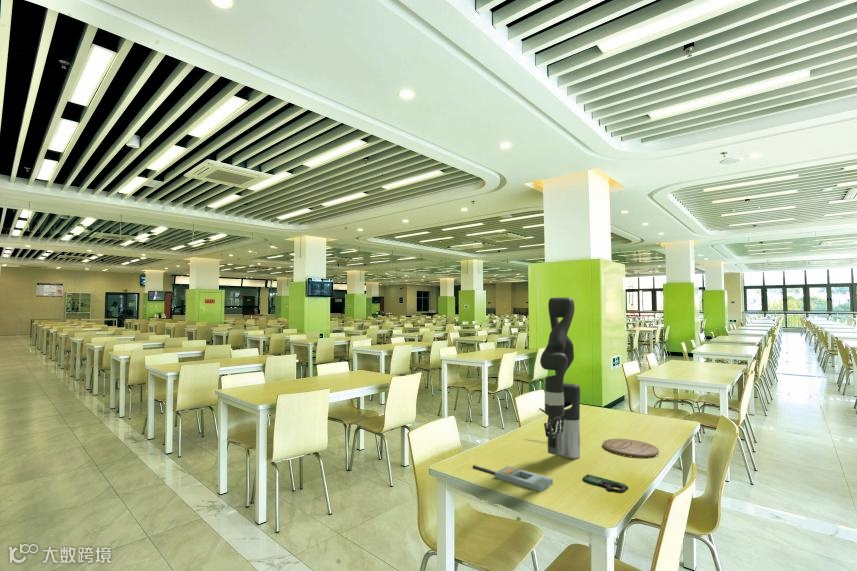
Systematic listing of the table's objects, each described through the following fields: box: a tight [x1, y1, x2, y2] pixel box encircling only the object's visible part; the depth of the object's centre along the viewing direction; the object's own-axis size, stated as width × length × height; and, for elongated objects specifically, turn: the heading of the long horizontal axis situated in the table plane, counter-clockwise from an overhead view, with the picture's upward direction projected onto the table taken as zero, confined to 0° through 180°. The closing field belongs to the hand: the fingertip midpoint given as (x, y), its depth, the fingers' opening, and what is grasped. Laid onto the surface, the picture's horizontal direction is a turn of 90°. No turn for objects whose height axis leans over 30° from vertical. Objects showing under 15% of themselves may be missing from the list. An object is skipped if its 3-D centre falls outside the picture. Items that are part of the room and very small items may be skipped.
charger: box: [547, 432, 562, 456], centre depth 169 cm, size 4×4×8 cm
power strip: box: [472, 464, 554, 493], centre depth 172 cm, size 10×33×2 cm, turn 48°
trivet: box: [602, 438, 660, 459], centre depth 209 cm, size 25×25×2 cm
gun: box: [582, 473, 629, 494], centre depth 165 cm, size 16×1×10 cm
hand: (554, 445), depth 169 cm, fingers closed on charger, 4 cm apart
